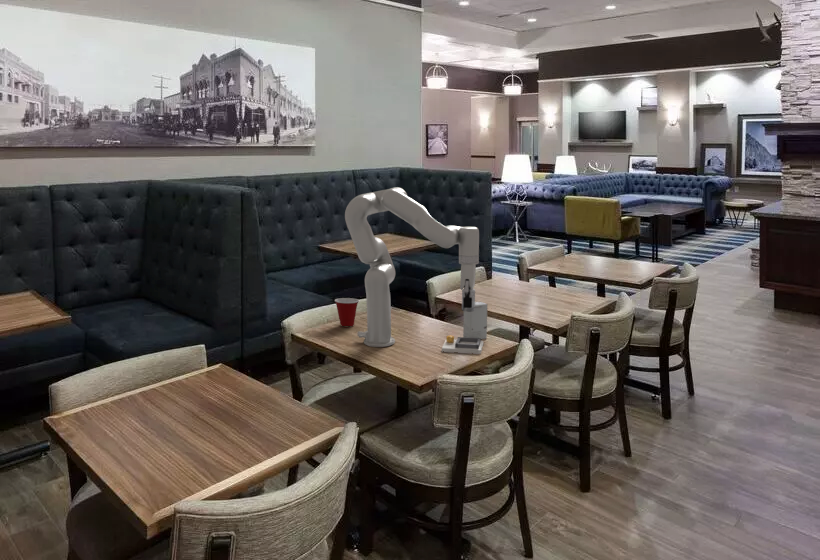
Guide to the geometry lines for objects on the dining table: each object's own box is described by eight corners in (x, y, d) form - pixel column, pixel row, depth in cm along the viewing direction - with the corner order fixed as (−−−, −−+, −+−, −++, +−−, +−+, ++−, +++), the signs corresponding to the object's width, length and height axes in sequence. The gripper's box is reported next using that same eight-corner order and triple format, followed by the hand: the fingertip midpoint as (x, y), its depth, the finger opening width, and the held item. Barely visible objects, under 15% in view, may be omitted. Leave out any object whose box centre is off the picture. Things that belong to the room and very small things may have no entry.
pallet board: (441, 351, 243) (441, 344, 242) (446, 342, 254) (446, 335, 253) (480, 354, 240) (480, 346, 239) (483, 344, 251) (483, 337, 251)
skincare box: (470, 341, 255) (470, 305, 252) (462, 337, 260) (462, 302, 257) (487, 338, 259) (488, 303, 256) (479, 334, 264) (479, 300, 261)
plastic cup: (364, 324, 281) (364, 298, 278) (349, 330, 272) (349, 303, 269) (345, 320, 287) (344, 295, 284) (330, 326, 278) (329, 300, 275)
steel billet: (461, 311, 241) (461, 291, 240) (462, 308, 246) (462, 288, 244) (474, 311, 240) (474, 291, 239) (475, 308, 245) (475, 288, 244)
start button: (445, 342, 248) (445, 337, 248) (447, 340, 251) (447, 335, 251) (453, 342, 248) (453, 337, 247) (454, 340, 251) (454, 335, 250)
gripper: (461, 255, 248) (461, 300, 252) (456, 263, 232) (455, 311, 235) (480, 255, 247) (480, 300, 250) (476, 263, 230) (476, 311, 234)
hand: (468, 305), depth 243 cm, fingers closed on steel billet, 5 cm apart
